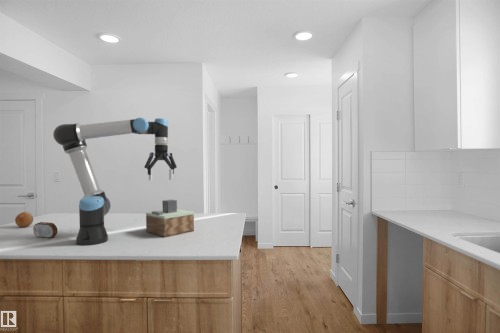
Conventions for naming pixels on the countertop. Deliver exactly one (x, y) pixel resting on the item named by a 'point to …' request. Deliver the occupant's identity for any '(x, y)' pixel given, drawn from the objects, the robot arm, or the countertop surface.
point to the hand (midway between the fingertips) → (161, 180)
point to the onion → (24, 219)
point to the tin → (45, 230)
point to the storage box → (169, 225)
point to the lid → (169, 214)
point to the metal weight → (169, 206)
